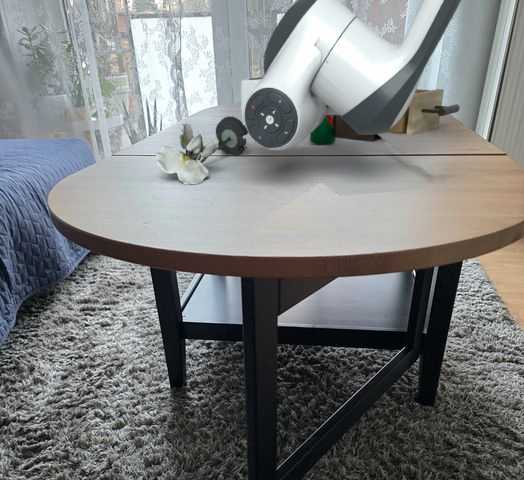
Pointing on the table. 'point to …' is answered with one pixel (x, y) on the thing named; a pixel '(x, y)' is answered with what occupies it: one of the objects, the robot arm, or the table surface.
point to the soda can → (325, 131)
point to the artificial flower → (201, 150)
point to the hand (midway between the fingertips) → (314, 93)
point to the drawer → (423, 113)
